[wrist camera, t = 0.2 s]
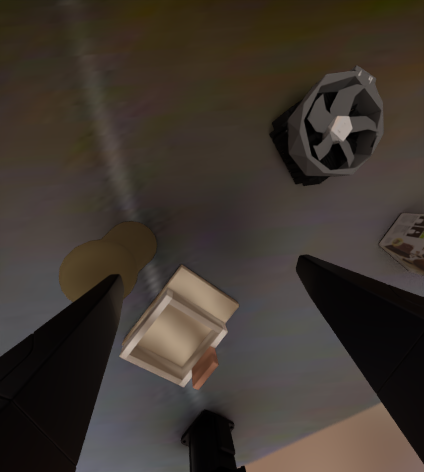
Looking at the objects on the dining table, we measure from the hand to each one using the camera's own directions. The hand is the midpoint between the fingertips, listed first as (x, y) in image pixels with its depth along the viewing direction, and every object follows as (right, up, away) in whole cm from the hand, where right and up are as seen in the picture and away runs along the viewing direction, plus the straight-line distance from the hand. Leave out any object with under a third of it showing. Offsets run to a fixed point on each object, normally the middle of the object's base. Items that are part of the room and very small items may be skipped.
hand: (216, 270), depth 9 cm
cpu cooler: (+13, +14, +16) cm, 25 cm away
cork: (-10, +1, +14) cm, 18 cm away
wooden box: (-4, -10, +17) cm, 20 cm away
